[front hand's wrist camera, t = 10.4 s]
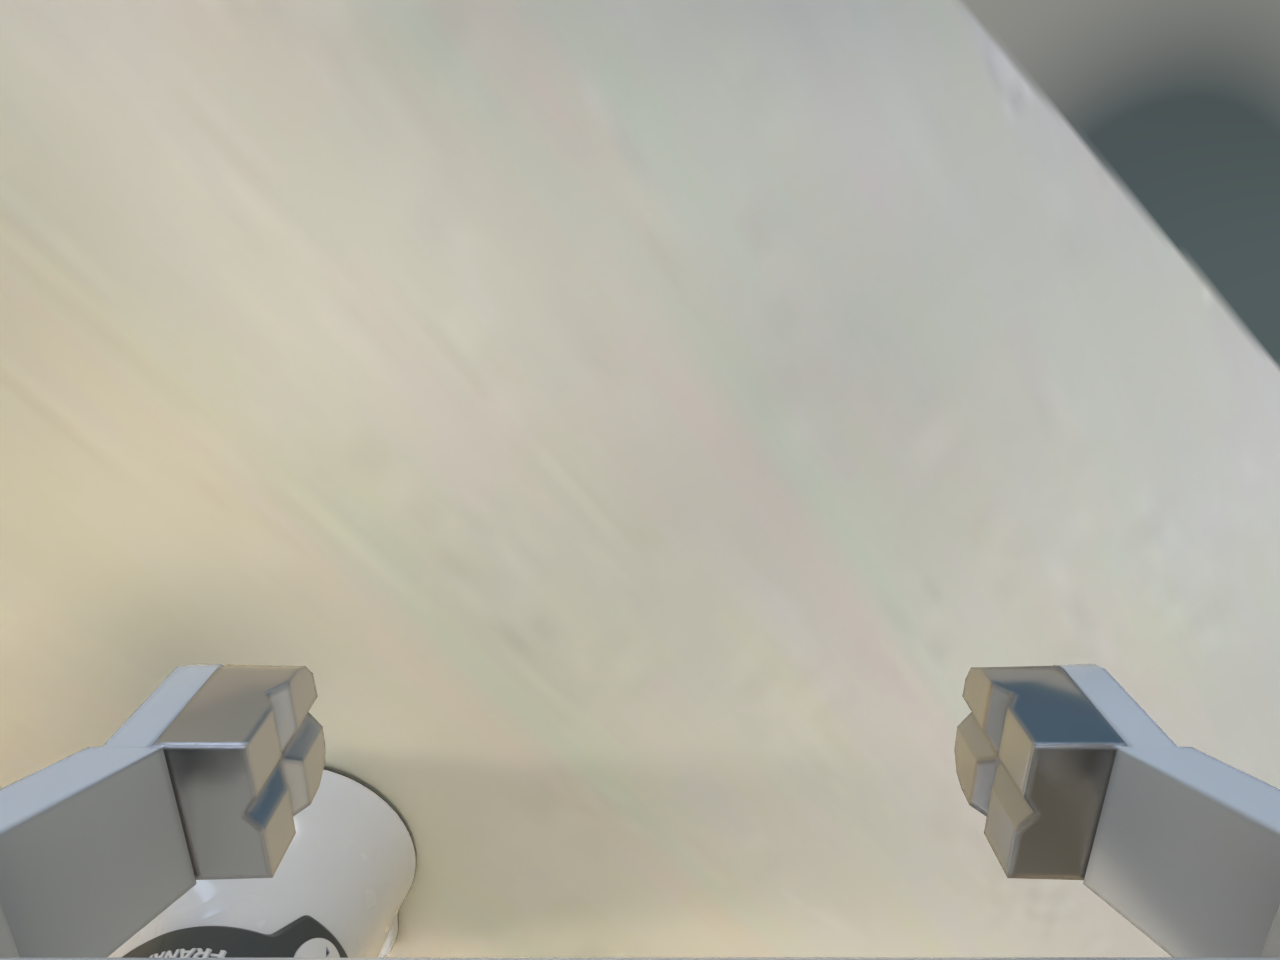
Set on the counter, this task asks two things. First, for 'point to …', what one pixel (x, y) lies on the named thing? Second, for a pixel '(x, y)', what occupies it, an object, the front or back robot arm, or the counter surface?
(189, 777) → the front robot arm
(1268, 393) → the counter surface
